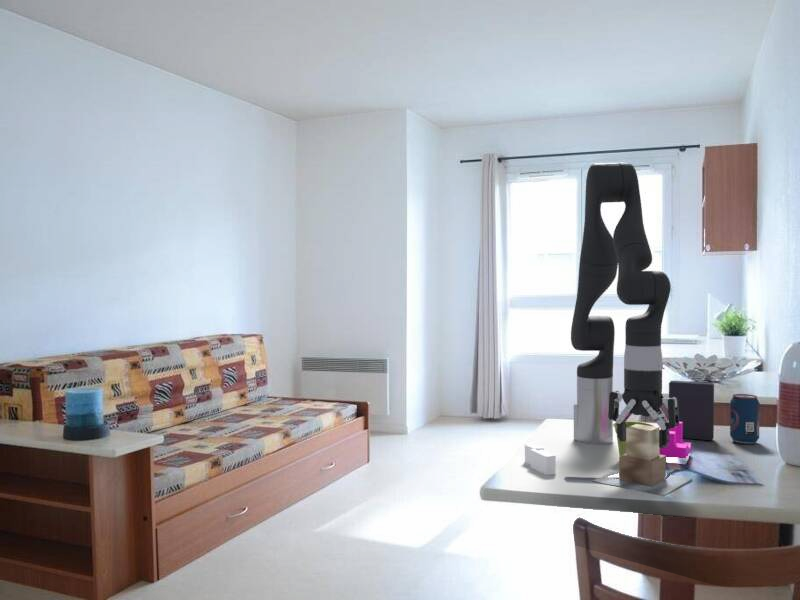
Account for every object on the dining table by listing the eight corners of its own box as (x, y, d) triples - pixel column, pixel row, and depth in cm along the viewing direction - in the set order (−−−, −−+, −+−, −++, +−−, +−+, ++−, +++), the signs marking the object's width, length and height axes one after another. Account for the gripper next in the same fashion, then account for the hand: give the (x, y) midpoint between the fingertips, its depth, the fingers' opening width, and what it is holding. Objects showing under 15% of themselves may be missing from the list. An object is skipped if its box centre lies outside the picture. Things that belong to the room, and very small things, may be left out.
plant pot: (661, 461, 165) (661, 424, 165) (644, 469, 158) (644, 431, 158) (623, 454, 171) (624, 419, 171) (605, 462, 164) (606, 425, 164)
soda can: (726, 437, 188) (726, 393, 188) (753, 438, 188) (753, 393, 187) (735, 443, 181) (736, 397, 181) (763, 444, 181) (764, 398, 180)
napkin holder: (562, 484, 149) (562, 457, 149) (509, 479, 153) (509, 453, 152) (570, 466, 163) (570, 442, 163) (521, 462, 167) (521, 438, 167)
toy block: (685, 467, 160) (685, 435, 160) (656, 464, 163) (656, 432, 163) (693, 453, 173) (693, 422, 173) (666, 450, 176) (666, 420, 176)
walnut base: (592, 485, 146) (592, 456, 146) (624, 470, 157) (624, 444, 157) (664, 500, 136) (664, 469, 136) (692, 483, 147) (692, 455, 147)
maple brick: (626, 456, 146) (626, 427, 146) (636, 451, 150) (636, 423, 150) (649, 460, 143) (649, 431, 143) (659, 455, 147) (659, 427, 146)
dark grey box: (713, 437, 188) (714, 382, 188) (712, 441, 185) (713, 384, 184) (670, 434, 193) (670, 379, 193) (668, 437, 190) (668, 382, 189)
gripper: (602, 365, 148) (602, 442, 148) (670, 371, 138) (669, 453, 139) (618, 362, 153) (618, 436, 154) (684, 367, 144) (683, 446, 144)
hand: (642, 444), depth 146 cm, fingers open, 8 cm apart
